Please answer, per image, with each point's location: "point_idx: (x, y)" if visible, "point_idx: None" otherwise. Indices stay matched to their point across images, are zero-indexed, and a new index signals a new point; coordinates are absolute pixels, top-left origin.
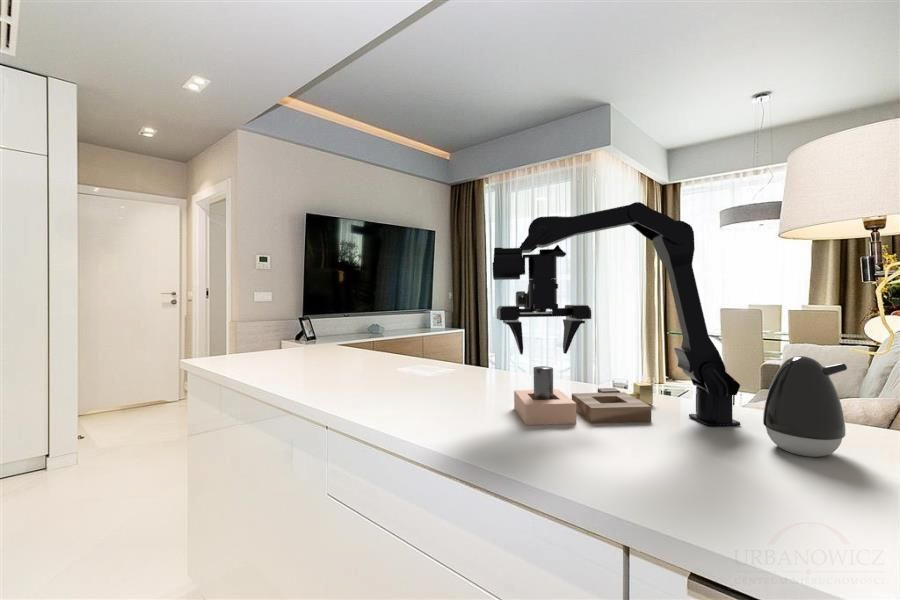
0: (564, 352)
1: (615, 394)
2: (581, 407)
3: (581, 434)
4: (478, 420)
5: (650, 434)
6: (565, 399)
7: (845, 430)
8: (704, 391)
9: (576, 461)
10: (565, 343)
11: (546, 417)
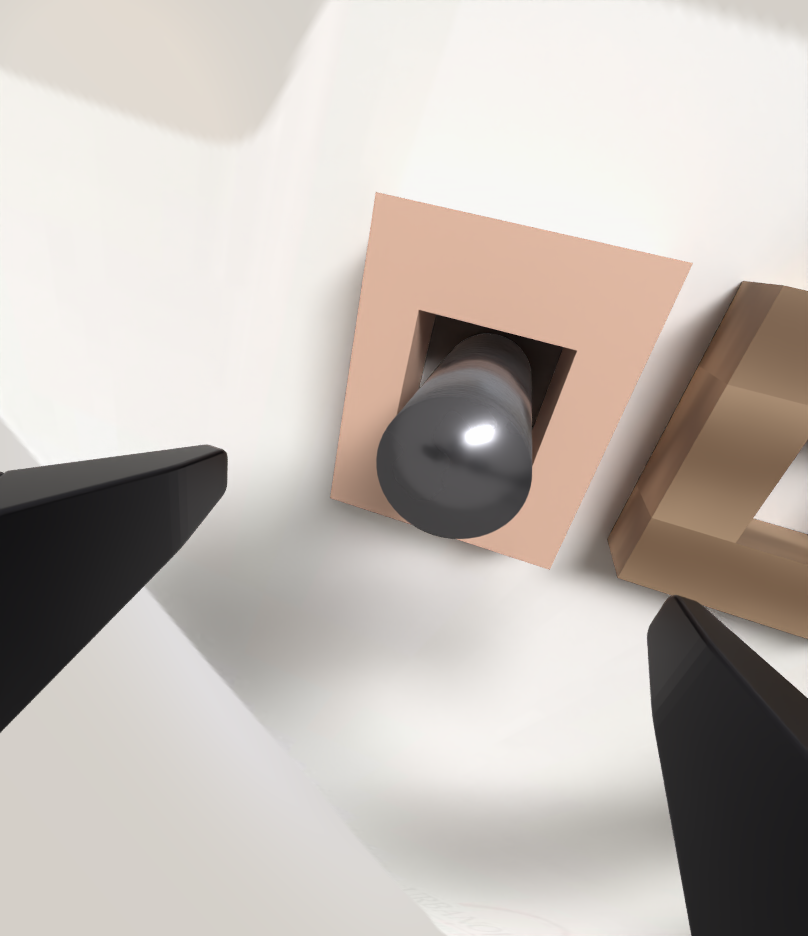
0: (652, 632)
1: None
2: (670, 450)
3: (488, 601)
4: (211, 347)
5: None
6: (547, 500)
7: None
8: None
9: (370, 701)
10: (675, 751)
11: None
